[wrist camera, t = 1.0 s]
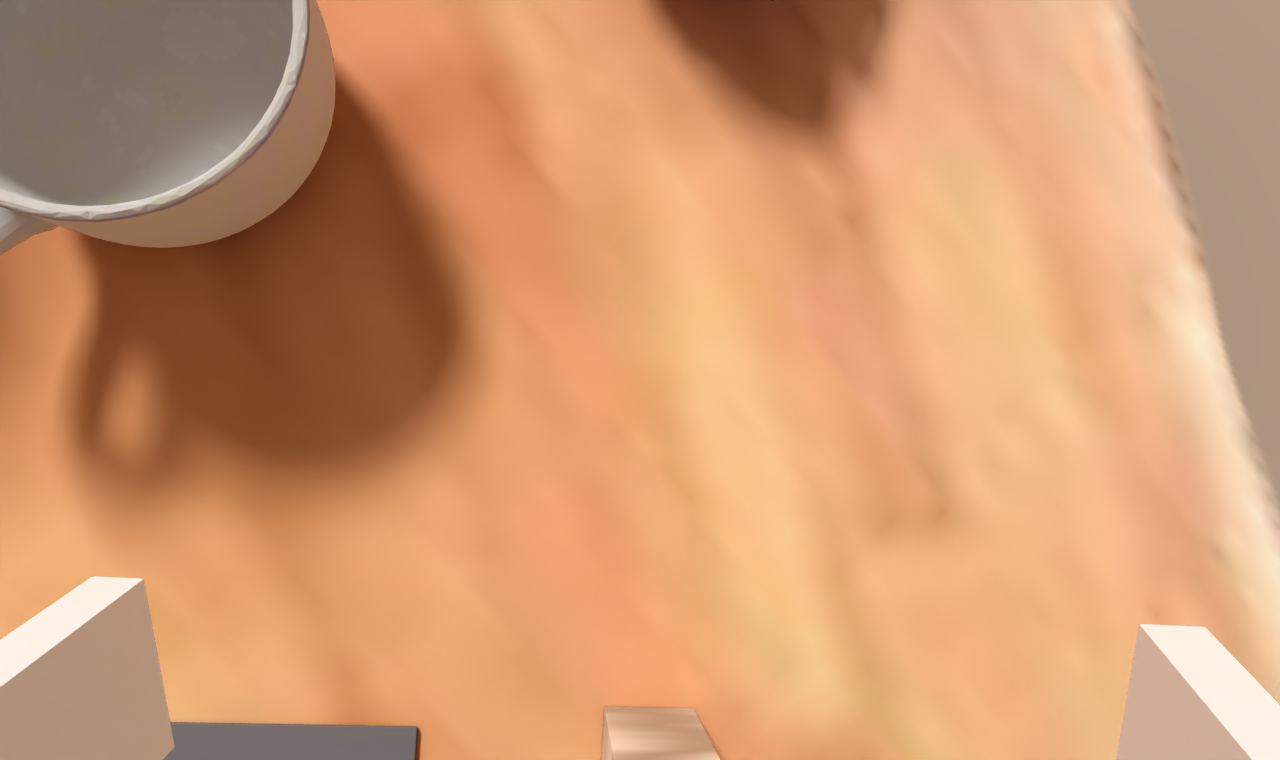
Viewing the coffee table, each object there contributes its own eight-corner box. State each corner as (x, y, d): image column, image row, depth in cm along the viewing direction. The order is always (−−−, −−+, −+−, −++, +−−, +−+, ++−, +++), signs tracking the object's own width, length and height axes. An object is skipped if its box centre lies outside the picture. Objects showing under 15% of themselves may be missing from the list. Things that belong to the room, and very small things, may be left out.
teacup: (236, -105, 29) (117, -308, 21) (435, 150, 29) (391, 44, 21) (-132, 134, 27) (-411, 11, 19) (81, 403, 28) (-110, 391, 20)
